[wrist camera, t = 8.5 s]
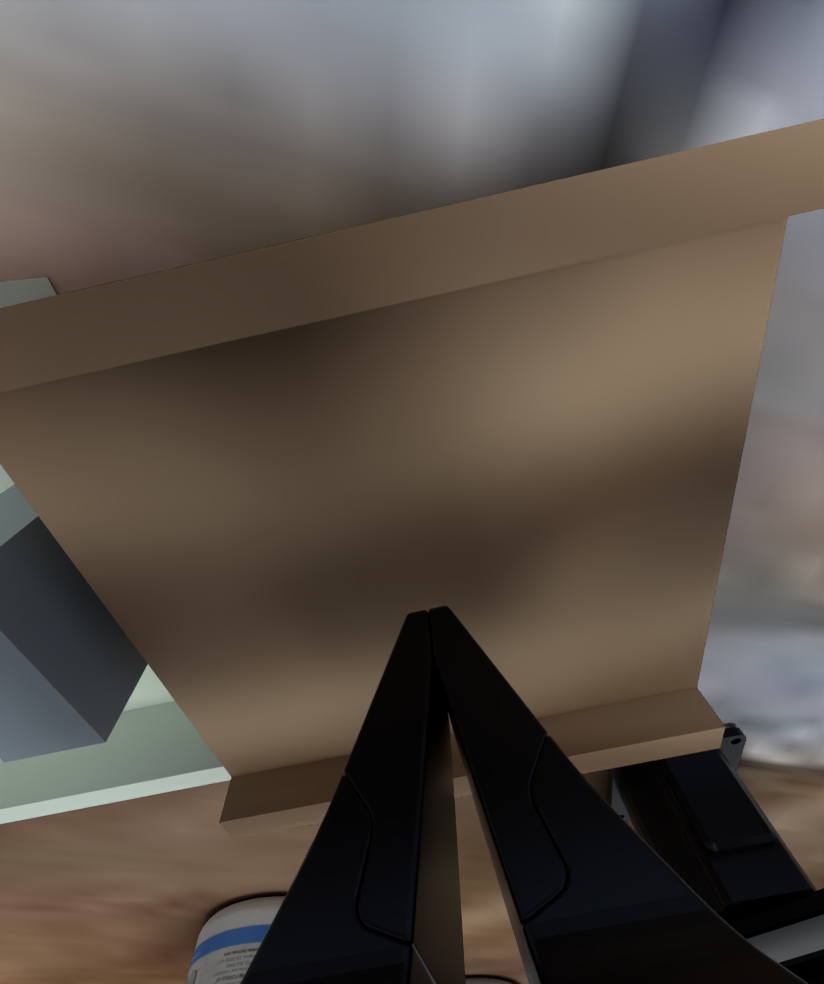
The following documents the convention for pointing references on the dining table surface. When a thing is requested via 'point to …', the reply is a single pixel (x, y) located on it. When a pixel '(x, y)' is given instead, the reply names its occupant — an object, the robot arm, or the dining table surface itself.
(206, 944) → the supplement tub
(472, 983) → the cylinder vase
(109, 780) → the tray
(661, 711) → the brown square tray
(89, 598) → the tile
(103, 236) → the dining table surface
